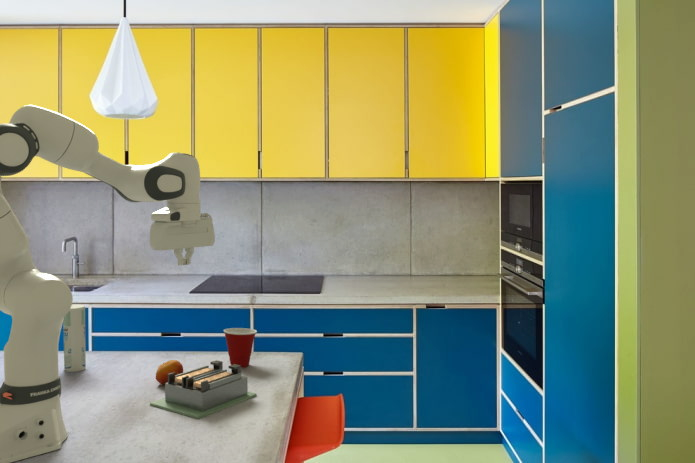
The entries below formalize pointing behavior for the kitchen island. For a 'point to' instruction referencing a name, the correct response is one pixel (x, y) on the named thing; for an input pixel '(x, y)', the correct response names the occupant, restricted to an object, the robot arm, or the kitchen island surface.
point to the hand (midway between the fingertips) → (184, 264)
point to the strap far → (194, 374)
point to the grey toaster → (206, 388)
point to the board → (195, 413)
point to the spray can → (74, 339)
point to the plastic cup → (239, 345)
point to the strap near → (212, 378)
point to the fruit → (168, 370)
